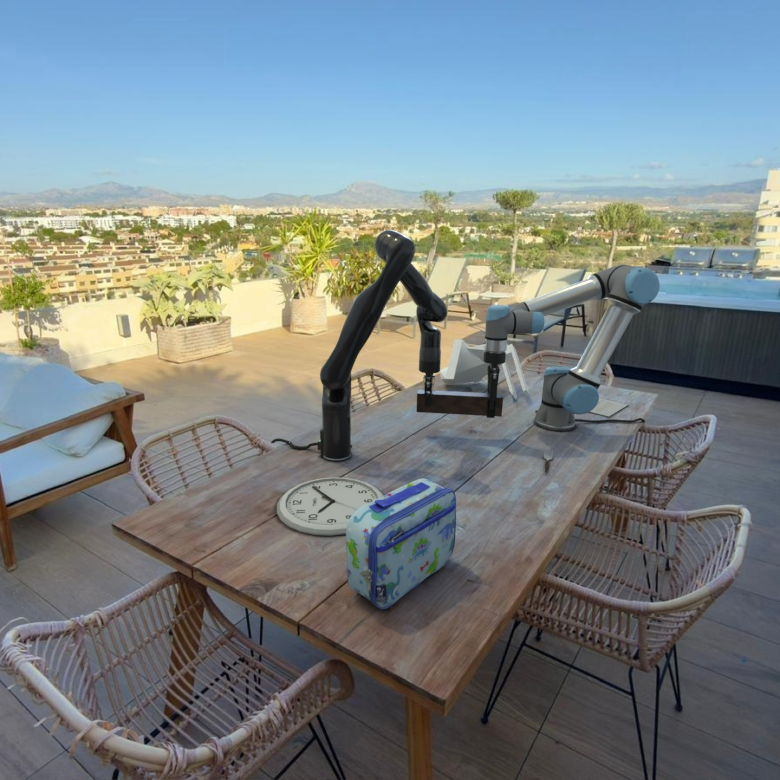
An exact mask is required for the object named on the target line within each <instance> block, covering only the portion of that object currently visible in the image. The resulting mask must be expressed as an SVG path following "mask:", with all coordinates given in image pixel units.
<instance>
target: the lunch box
mask: <svg viewBox="0 0 780 780" xmlns="http://www.w3.org/2000/svg"><path fill="white" fill-rule="evenodd" d="M456 498H457V496H456V493H455V491H454V489H452V488H450V487H443V486H441V485H439V484H438V483H436V482H433V481H432V480H430V479H427V478H423V477H422V478H418V479H416V480H413V481H411V482H409V483H406V484H405V485H402V486H400V487H398V488H396V489H394V490H392V491H390V492H388V493H386V494H384V496H382V497H380V498H378V499H376V500H374V501H372V502H370V503H368V504H366V505H364V506H362V507H360V508H358V509H357V510H356V511H355V512H354V513H353V514H352V515H351V517H350V519H349V521H348V524H347V528H346V534H345V547H346V549H345V550H346V572H347V573H346V575H347V584H348V587H349V589H350V590H351V591H353V592H355V593H357V594H358V595H361V596H363V597H364V598H365V599H367V600H368V601H369V602H371V604H372V605H373V606H374V607H376V608H377V609H380V610H386V609H389V608H391V607H393V605H395V603H397V602H398V601H399V600H400V599H402V598H403V597H404V596H405V595H408V593H410V592H411V591H412V590H413V589H415V588H416V587H417V586H419V585H420V584H421V583H423V581H424V580H425V579H427V578H428V577H430V576H431V575H433V574H435V573H437V572H438V571H439V570H441V569H442V568H443V567H444V566H446V564H447V563H448V562H449V560H450V559H451V556H452V555H453V552H454V548H455V544H456V531H457V530H456V529H457V499H456Z"/></svg>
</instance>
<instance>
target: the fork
mask: <svg viewBox="0 0 780 780" xmlns="http://www.w3.org/2000/svg"><path fill="white" fill-rule="evenodd" d="M553 451H554V450H553V448H552V451H551V449H549V451H547V450H545V452H544V455H543V459H545V460H546V461H545V463H544V473H547V470H548V468H549V461H551V460H553Z"/></svg>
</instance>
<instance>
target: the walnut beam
mask: <svg viewBox="0 0 780 780" xmlns="http://www.w3.org/2000/svg"><path fill="white" fill-rule="evenodd" d="M426 393H430V392H429V391H426ZM486 398H487V399H488V398H489V393H487V392H473V391H472V392H467V391H450V390H449V391H448V390H433V391H432V396H431V407H425V397H424V389H417V392H416V410H415V411H416V413H425V414H443V415H463V416H481V417H484V416H485V417H487V405H488V400H486ZM503 403H504V396H503V393H497V400H496V405H495V417H498V418H499V417H500V418H501V417H502V415H503V406H504V405H503Z"/></svg>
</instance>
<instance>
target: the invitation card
mask: <svg viewBox="0 0 780 780" xmlns="http://www.w3.org/2000/svg"><path fill="white" fill-rule="evenodd" d="M628 406H629V404H627V403H623V402H618V401H614V400H609V399H605V398H601V397H599V401H598V403H597V405H596V407H595V408H594V409H593V410H591V411H590V412H589V413H593V414H596V415H600V416H604V417H608V418H609V417H611V416H613V415H614V414H616V413H617V412H619V411H621V410H623V409H624V408H626V407H628Z"/></svg>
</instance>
